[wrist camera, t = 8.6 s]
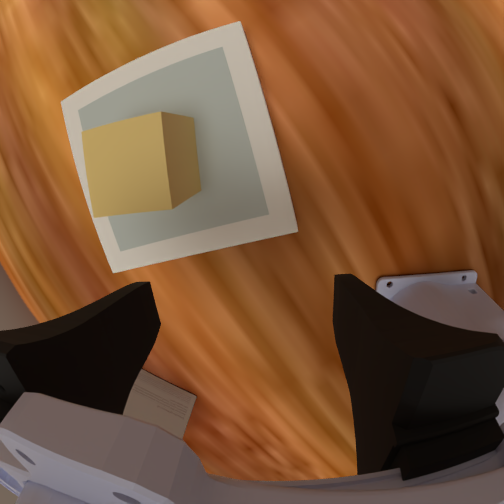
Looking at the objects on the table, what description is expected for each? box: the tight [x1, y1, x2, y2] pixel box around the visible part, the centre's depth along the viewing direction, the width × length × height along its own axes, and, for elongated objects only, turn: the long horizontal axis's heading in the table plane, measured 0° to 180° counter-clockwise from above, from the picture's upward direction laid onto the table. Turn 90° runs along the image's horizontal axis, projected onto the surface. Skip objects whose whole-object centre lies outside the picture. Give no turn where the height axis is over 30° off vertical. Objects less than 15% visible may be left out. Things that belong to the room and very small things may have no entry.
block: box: [81, 111, 201, 218], centre depth 16 cm, size 5×5×5 cm
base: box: [61, 21, 298, 273], centre depth 19 cm, size 14×14×2 cm
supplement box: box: [123, 369, 197, 439], centre depth 23 cm, size 7×7×13 cm
